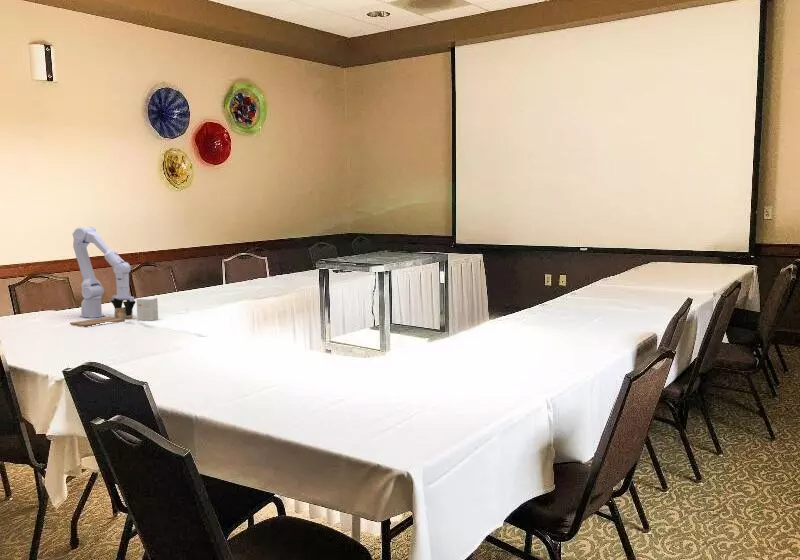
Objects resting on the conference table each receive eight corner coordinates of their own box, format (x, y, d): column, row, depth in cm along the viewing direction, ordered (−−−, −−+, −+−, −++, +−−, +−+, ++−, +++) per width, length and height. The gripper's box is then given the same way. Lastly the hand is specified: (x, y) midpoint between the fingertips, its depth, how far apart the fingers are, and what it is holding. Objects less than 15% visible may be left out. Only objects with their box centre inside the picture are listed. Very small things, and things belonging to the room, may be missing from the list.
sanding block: (114, 318, 318) (114, 308, 318) (127, 316, 324) (127, 306, 324) (120, 319, 316) (119, 309, 316) (132, 317, 322) (132, 307, 322)
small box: (158, 319, 318) (157, 297, 317) (152, 320, 313) (152, 299, 311) (142, 318, 319) (142, 297, 318) (137, 320, 313) (136, 298, 312)
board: (69, 324, 300) (69, 322, 300) (109, 318, 317) (108, 316, 317) (85, 327, 294) (85, 325, 293) (124, 321, 311) (124, 319, 310)
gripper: (106, 287, 319) (107, 314, 320) (125, 289, 312) (126, 317, 313) (118, 285, 325) (119, 312, 326) (137, 287, 318) (138, 315, 319)
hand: (123, 314), depth 320 cm, fingers open, 7 cm apart
